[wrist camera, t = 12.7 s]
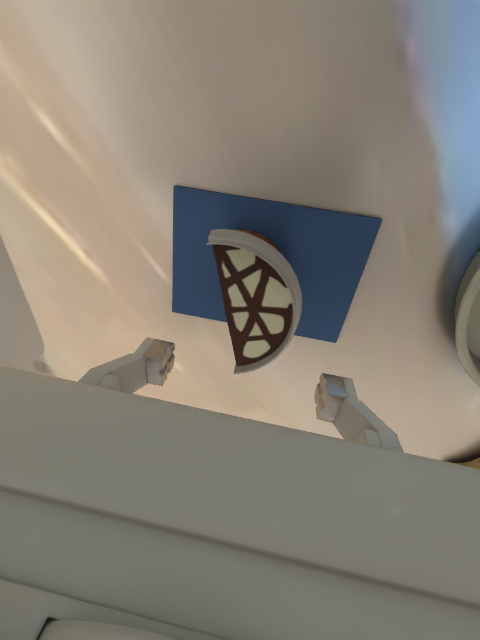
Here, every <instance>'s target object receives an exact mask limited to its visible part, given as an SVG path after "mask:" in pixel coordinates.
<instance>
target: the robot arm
mask: <svg viewBox="0 0 480 640" xmlns="http://www.w3.org/2000/svg"><path fill="white" fill-rule="evenodd" d="M174 350H175V344H174V343H171V342H167V341H162V340H158V339H153V338H146V339H145V340H144V341H143V343H142V344H141V345H140V346H139V348H138V349H137V350H136V351H135V352H134V354H128V355H126V356H123V357H121V358H118V359H115V360H113V361H110V362H108V363H105V364H103V365H100V366H98V367H95V368H92V369H90V370H89V371H88V372H87V373H86V374H85V375H84V376H83V377H82V378H81V379H80V380H79V381H78V382H76V381H71V380H66V379H62V378H57V377H52V376H48V375H43V374H39V373H34V372H29V371H25V370H21V369H16V368H12V367H4V366H3V367H0V640H480V469H478V468H473V467H468V466H464V465H459V464H454V463H450V462H445V461H440V460H436V459H431V458H426V457H422V456H417V455H412V454H408V453H404V452H403V450H402V447H401V445H400V442H399V440H398V437H397V435H396V434H395V433H394V432H393V431H392V430H391V429H390V428H389V427H388V426H387V425H386V424H385V423H384V422H383V421H382V420H381V419H379V418H378V417H377V416H376V415H375V414H374V413H373V412H372V411H371V410H370V409H369V408H368V407H367V406H366V405H365V404H364V403H363V402H362V401H359V400H358V397H357V394H356V391H355V387H354V384H353V381H352V379H351V378H347V377H340V376H335V375H329V374H324V373H322V374H321V376H320V383H319V384H318V385H317V387H316V390H315V403H316V404H317V407H316V415H317V419H320V420H324V421H328V422H332V423H333V424H334V426H335V427H336V428H337V430H338V431H339V433H340V434H341V436H342V437H343V438H344V440H343V439H339V438H334V437H329V436H325V435H320V434H315V433H311V432H306V431H302V430H297V429H292V428H288V427H283V426H278V425H274V424H269V423H265V422H260V421H255V420H251V419H246V418H241V417H237V416H232V415H228V414H223V413H218V412H214V411H209V410H205V409H200V408H195V407H191V406H186V405H182V404H177V403H172V402H168V401H163V400H159V399H154V398H149V397H145V396H140V395H135V394H132V393H133V392H135V391H137V390H138V389H140V388H141V387H143V386H144V385H146V384H147V383H149V384H155V385H160V386H163V384H164V382H165V380H166V379H167V373H169V372H171V370H172V368H173V365H174V359H175V356H174V354H173V351H174Z"/></svg>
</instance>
